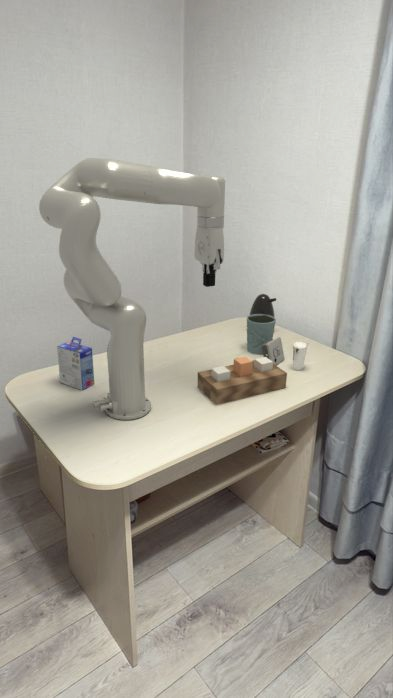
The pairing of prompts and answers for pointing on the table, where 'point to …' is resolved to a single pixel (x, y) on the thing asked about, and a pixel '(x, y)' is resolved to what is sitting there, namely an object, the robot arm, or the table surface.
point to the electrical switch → (273, 350)
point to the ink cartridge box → (75, 364)
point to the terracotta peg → (242, 366)
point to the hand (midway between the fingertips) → (209, 285)
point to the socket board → (241, 384)
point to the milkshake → (299, 355)
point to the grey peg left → (220, 374)
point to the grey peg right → (263, 364)
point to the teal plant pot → (259, 331)
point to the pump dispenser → (263, 305)
